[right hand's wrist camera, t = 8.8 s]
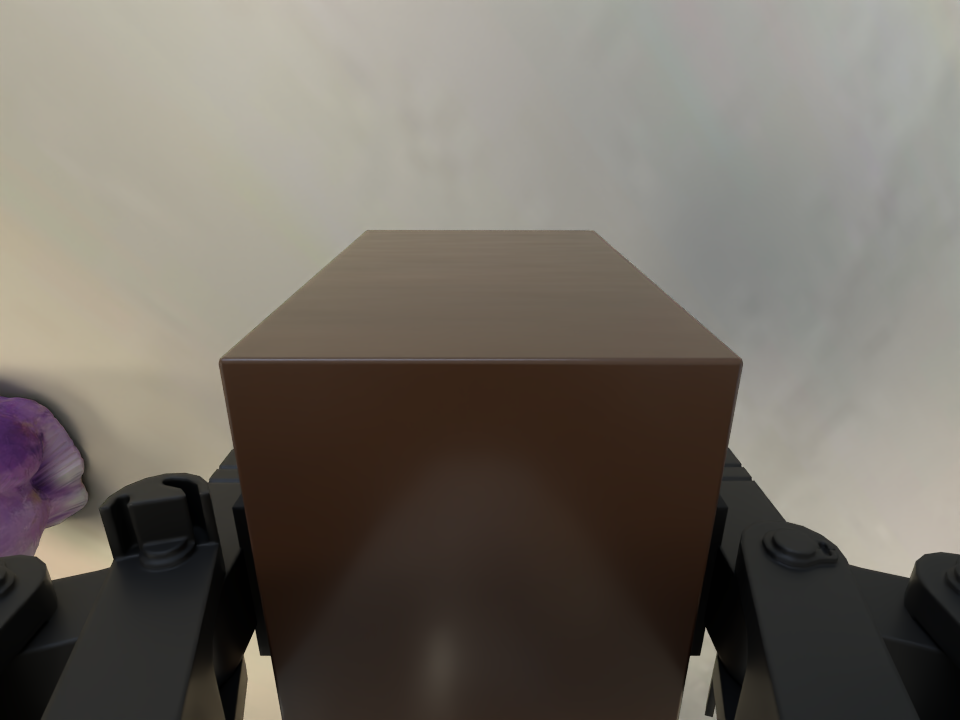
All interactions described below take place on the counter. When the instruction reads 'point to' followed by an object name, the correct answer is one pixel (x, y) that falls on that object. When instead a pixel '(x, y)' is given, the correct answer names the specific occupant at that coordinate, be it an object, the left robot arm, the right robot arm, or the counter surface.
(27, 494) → the figurine
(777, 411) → the counter surface
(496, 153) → the counter surface
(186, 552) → the right robot arm
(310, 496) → the plank
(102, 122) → the counter surface
